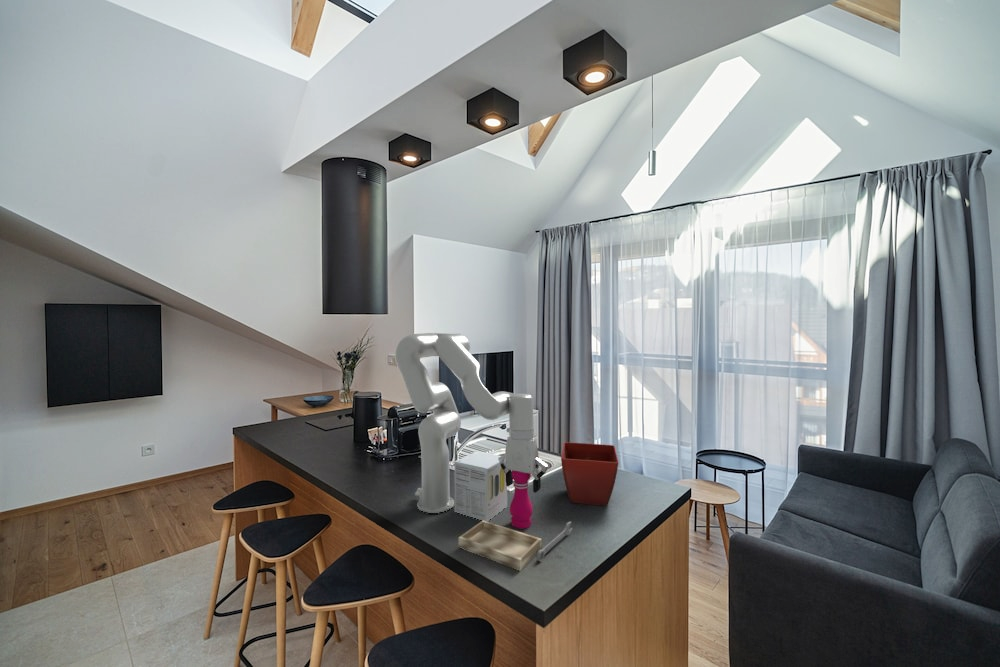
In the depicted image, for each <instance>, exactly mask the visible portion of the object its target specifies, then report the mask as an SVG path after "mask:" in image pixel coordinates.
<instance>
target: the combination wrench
mask: <svg viewBox="0 0 1000 667" xmlns="http://www.w3.org/2000/svg"><path fill="white" fill-rule="evenodd" d="M571 524H572V521H568V522H566V524H565V526H564V529H563V530H562V532H560V533H559V534H558V535H556V537H554V538H553V539H552V540H551V541H550V542H548V543H547V544H546V545H545V546H543V548H542V549H541V550H539V551H538V553H537V555H536V561H537V562H540V563H542V562H543V561H544V558H545V555H546V554H547V553H548V552H549V551H550V550H551V549H552V548H553V547H554V546H555V545H556V544H558V543H559V542H560V541H561V540H562V539H563V538H564V537H565V536H568V537H569V536H570V535H571V534H572V531H573V527H570V526H571Z"/></svg>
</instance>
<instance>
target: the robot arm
mask: <svg viewBox="0 0 1000 667" xmlns="http://www.w3.org/2000/svg"><path fill="white" fill-rule="evenodd" d="M470 349H471V345H470V341H469V339H468V338H467V337H466V336H465V335H464V334H461V333H443V332H442V333H439V332H433V333H432V332H430V333H429V332H428V333H412V334H408V335H406V336H405V337H403V338H402V339H401V340H400V341H399V342H398V344H397V346H396V350H395V360H396V364H397V366H398V368H399V371H400V373H401V375H402V377H403V380H404V383H405V386H406V390H407V393H408V394H409V398H410V400H411V403H412V405H413V408H414V409H415V411H417V412H418V413H422V414H425V413H428V412H432V413H433V414H430V415H429V416H426V417H425V418H423V419H422V420H421V422H420V424H419V425H418V432H417V434H418V440H419V443H420V450H421V451H420V453H421V455H420V456H421V457H420V462H421V487H418V488H417V489H416V492H414V496H415V497H419V500H418V502H417V504H416V507H418V508H417V509H419V510H418V511H420V510H421V511H423V512H422V513H424V512H428V513H438V514H440V513H439V512H443V513H445V512H444V511H446V512H448V511H447V510H449V509H450V510H452V509H453V508H452V507H455V499H454V498H453V497H451V494H450V491H451V490H450V488H451V487H450V485H451V484H450V477H451V476H450V472H451V471H450V450H449V446H448V444H447V440H448V438H451V437H453V436H454V435H456V434H457V433H458V432H459V431H460V429H461V426H462V425H461V424H462V421H461V416H460V413H459V411H458V408H457V405H456V402H455V400H454V397H453V395H452V392H451V390H450V389H449V387H448V386H447V385H446V384H445V383H444V382H440V381H432V379H431V376H430V375H429V374H430V373H429V372H428V370H427V368H426V367H425V365H424V364H423V363H422V361H421V359H423V358H424V359H425V358H429V357H438V358H439V359H440V360H441V361H442V362H443V364H445V366H447V367H448V369H449V370H450V371H451V372H452V374H454V376H455V377H456V378H457V379H458V381H459V382H460V385H461V389H462V392H463V395H464V397H465V399H466V401H467V402H468V403H469V405H470V406H471V407H472V408H473V409H474V410H475V412H477V413H478V414H479V416H481V417H482V418H484V419H485V420H488V421H494V420H497V419H500V418H501V417H503V416H506V415H508V419H509V427H508V428H506V433H508V435H509V436H508V437H507V439H506V444H505V450H504V452H505V453H504V454H503V455H500V456H501V457H499V458H498V460H499V462H500V464H501V467H502V469H503V470H504V473H505V475H506V486H507V487H510V486H511V485H513V484H514V483H513V481H514V479H513V478H512V471H518V472H522V473H528V474H530V473H531V476H532V477H533V478H534V479H532V490H533V491H532V492H533V493H535V494H536V493H537V492H539V491H540V490H541V487H542V486H541V485H542V484H541V483H542V480H541V478H543V476H544V475H545V474H546V473H547V470H548V468H549V465H548V464H547V463H545V461H542V459H540V458H539V450H538V443H537V439H536V437H535V433H534V429H535V428H534V427H535V426H534V398H533V396H532V395H531V394H529V393H521V392H520V393H519V392H518V393H514V392H509V391H503V390H502V391H496V392H494V393H491V392H490V391H489V390H488V388H486V387H485V385H484V384H483V383H482V381H481V379H480V373H479V372H480V369H481V365H480V362H479V361H478V360H477V359H476V358H475V357H474V356H473V355H472V354H471V352H470ZM504 460H505V461H504ZM539 468H541V470H539ZM451 508H452V509H451ZM450 510H449V511H450ZM421 511H420V512H421ZM428 513H427V514H428Z"/></svg>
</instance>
